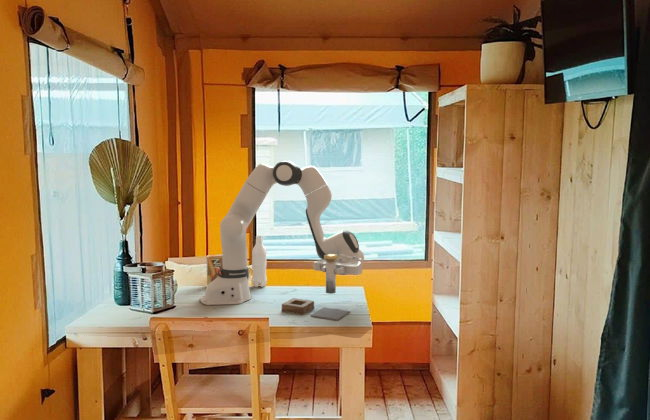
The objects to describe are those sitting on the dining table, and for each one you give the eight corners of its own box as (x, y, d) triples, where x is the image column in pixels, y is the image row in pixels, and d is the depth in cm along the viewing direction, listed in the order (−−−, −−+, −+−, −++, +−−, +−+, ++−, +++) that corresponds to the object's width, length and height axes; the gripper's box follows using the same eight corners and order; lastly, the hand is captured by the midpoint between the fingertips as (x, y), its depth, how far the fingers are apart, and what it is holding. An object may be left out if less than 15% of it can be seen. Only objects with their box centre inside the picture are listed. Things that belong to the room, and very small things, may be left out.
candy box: (224, 284, 261) (224, 254, 260) (226, 286, 257) (225, 255, 256) (206, 285, 258) (206, 255, 256) (208, 287, 254) (207, 256, 253)
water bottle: (264, 288, 254) (263, 237, 251) (250, 287, 255) (249, 237, 252) (268, 284, 261) (268, 235, 258) (255, 284, 262) (254, 234, 259)
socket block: (303, 314, 213) (303, 307, 213) (281, 311, 217) (281, 304, 217) (314, 307, 222) (314, 301, 222) (293, 304, 226) (293, 298, 226)
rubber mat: (337, 320, 206) (337, 319, 205) (310, 316, 211) (310, 315, 211) (349, 312, 216) (349, 311, 216) (323, 308, 221) (323, 307, 221)
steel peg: (326, 294, 209) (326, 257, 207) (321, 291, 214) (322, 254, 213) (339, 293, 211) (339, 256, 209) (334, 290, 216) (334, 253, 214)
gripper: (321, 254, 227) (306, 260, 215) (365, 259, 218) (353, 265, 206) (321, 269, 228) (306, 275, 215) (365, 273, 219) (352, 281, 207)
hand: (329, 270), depth 211 cm, fingers closed on steel peg, 4 cm apart
